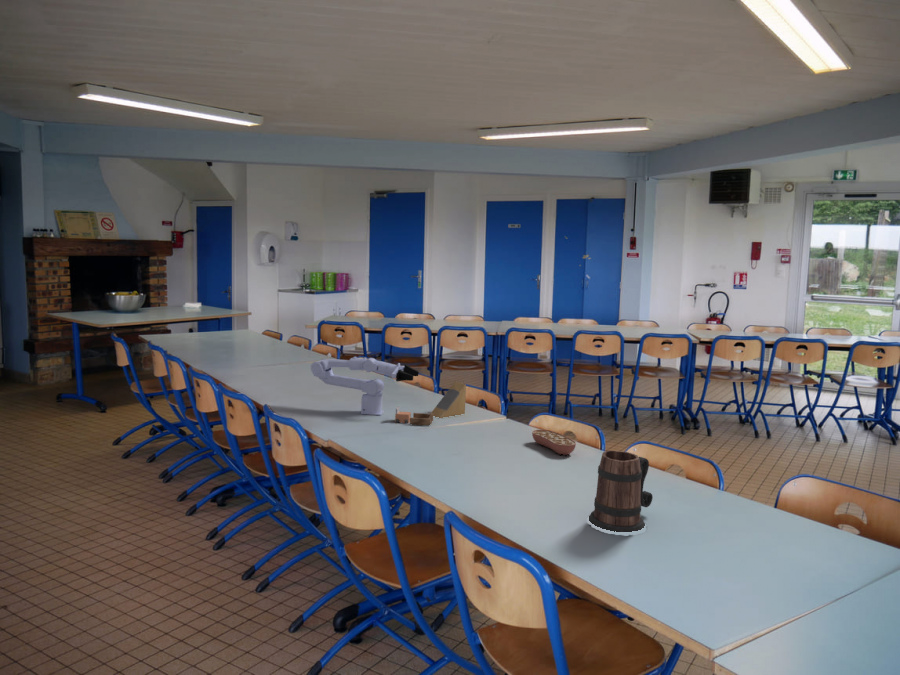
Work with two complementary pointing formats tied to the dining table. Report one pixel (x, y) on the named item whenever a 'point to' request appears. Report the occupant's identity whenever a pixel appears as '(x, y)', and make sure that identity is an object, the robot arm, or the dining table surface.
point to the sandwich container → (452, 402)
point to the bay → (421, 419)
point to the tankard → (620, 492)
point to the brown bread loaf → (554, 441)
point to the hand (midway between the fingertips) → (415, 376)
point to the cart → (402, 416)
